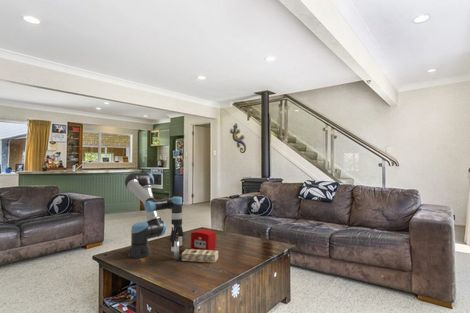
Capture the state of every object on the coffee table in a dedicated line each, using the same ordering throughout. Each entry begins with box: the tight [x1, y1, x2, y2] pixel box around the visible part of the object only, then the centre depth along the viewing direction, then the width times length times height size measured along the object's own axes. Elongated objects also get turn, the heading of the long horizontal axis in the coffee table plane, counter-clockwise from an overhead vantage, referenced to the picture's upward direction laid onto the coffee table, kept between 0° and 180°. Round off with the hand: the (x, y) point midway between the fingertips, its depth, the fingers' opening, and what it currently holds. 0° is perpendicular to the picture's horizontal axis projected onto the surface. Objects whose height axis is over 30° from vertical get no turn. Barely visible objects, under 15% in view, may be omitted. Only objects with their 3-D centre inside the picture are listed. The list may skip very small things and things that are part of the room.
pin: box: [173, 240, 180, 261], centre depth 198 cm, size 4×4×12 cm
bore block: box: [181, 248, 219, 264], centre depth 197 cm, size 24×10×5 cm, turn 81°
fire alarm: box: [190, 229, 217, 251], centre depth 217 cm, size 16×11×15 cm
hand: (176, 248), depth 198 cm, fingers open, 13 cm apart
